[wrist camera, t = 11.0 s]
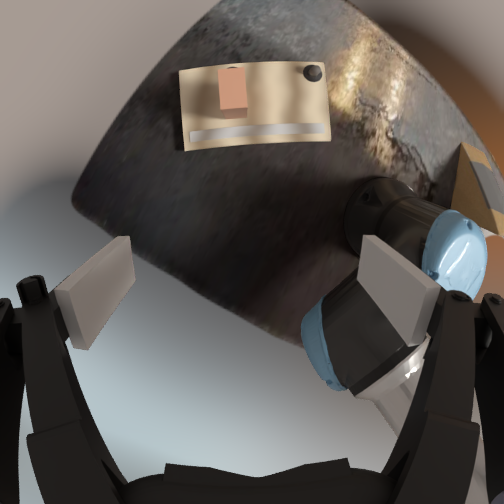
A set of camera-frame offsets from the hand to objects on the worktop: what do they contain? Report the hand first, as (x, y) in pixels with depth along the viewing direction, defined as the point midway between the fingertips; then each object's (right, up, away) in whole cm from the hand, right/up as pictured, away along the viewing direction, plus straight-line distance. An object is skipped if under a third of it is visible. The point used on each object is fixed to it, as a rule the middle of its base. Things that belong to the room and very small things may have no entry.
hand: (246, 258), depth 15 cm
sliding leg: (-2, +23, +21) cm, 31 cm away
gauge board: (+1, +23, +24) cm, 33 cm away
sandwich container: (+45, +15, +29) cm, 55 cm away
